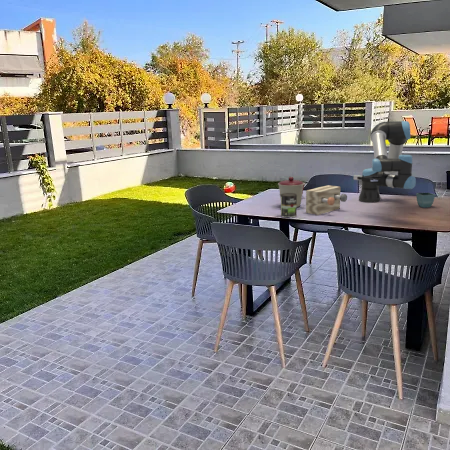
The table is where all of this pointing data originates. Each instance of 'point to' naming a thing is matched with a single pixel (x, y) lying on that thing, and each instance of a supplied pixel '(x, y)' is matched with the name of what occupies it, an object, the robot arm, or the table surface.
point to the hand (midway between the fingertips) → (354, 177)
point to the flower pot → (425, 199)
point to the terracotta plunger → (328, 200)
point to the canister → (292, 188)
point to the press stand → (315, 197)
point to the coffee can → (288, 205)
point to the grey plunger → (341, 197)
